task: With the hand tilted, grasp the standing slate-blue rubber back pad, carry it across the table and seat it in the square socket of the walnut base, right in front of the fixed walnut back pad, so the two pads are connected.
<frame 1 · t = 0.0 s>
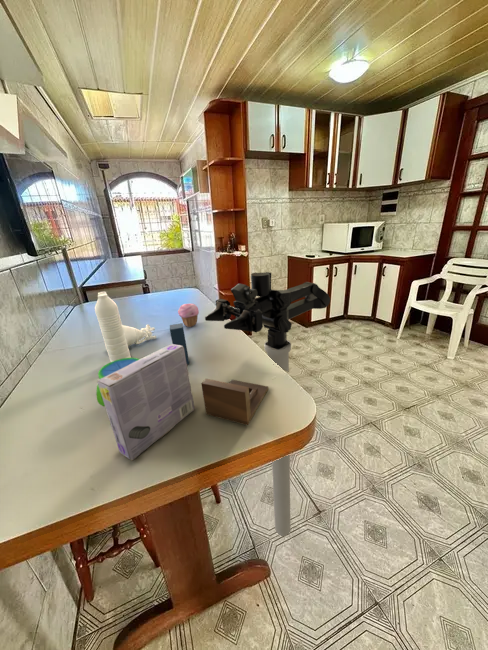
hand: (214, 322, 74), 17 cm above the table, tool horizontal, fingers open, 9 cm apart
cake pan box: (162, 428, 61), on the table
back pad: (182, 362, 89), on the table
rocket engine: (133, 346, 103), on the table
cupcake: (190, 325, 119), on the table
snack cup: (130, 400, 72), on the table
water bottle: (122, 364, 91), on the table
pad seat: (238, 401, 68), on the table
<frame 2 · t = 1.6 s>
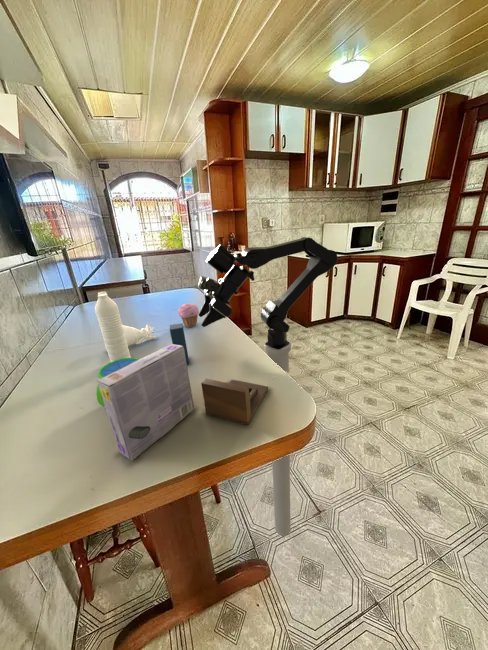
hand: (201, 320, 85), 13 cm above the table, tool tilted 45°, fingers open, 9 cm apart
nothing on the table moved.
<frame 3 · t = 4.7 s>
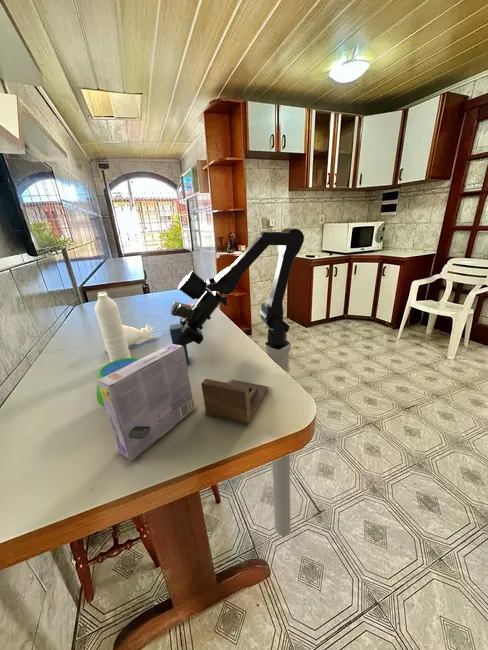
hand: (175, 345, 86), 7 cm above the table, tool tilted 45°, fingers closed on back pad, 4 cm apart
back pad: (182, 362, 89), on the table, touching gripper
everything else where it was.
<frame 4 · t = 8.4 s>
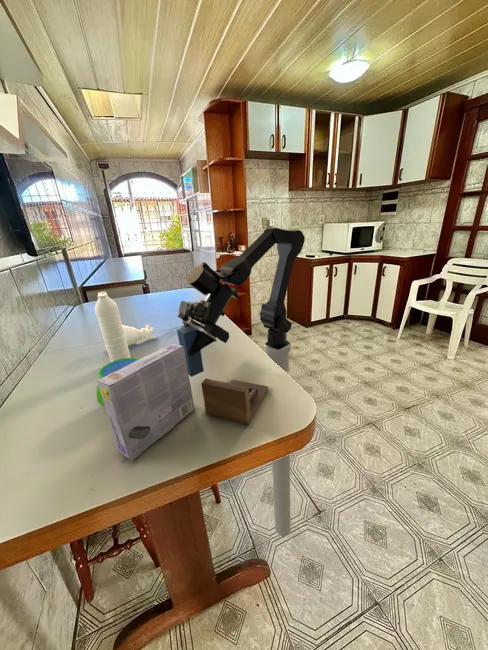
hand: (186, 352, 72), 10 cm above the table, tool tilted 45°, fingers closed on back pad, 4 cm apart
back pad: (194, 371, 75), point 4 cm above the table, touching gripper
everything else where it was.
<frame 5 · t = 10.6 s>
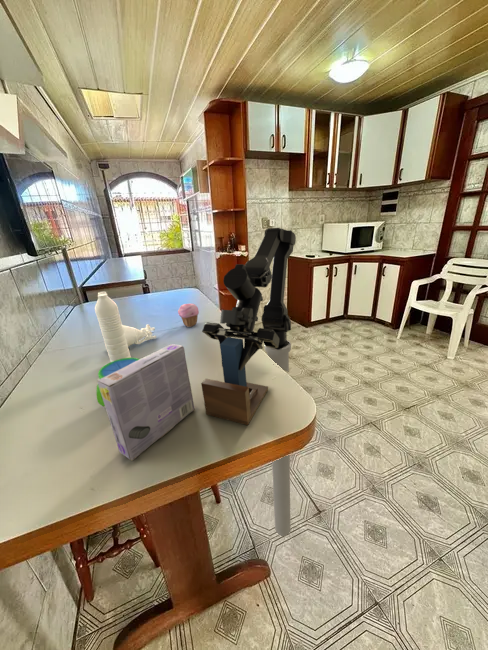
hand: (231, 368, 63), 10 cm above the table, tool tilted 45°, fingers closed on back pad, 4 cm apart
back pad: (236, 388, 66), point 4 cm above the table, touching gripper
everything else where it was.
when the fingers open (8 cm above the table, at t = 12.2 s): back pad stays where it is, resting on pad seat.
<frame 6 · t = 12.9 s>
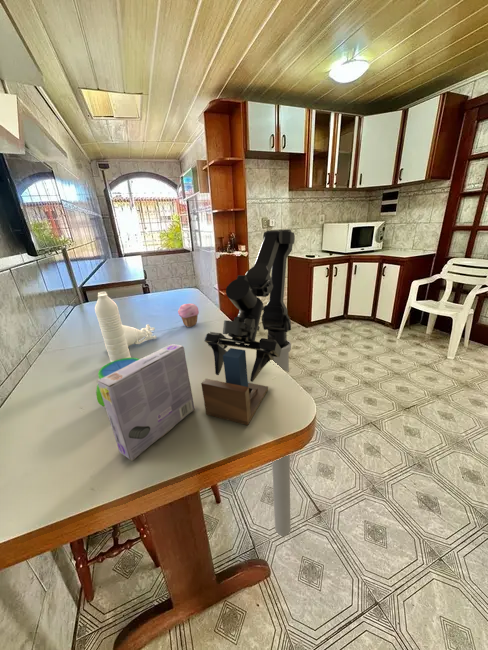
hand: (233, 378, 64), 8 cm above the table, tool tilted 45°, fingers open, 9 cm apart
back pad: (238, 398, 67), point 1 cm above the table, touching pad seat
everything else where it was.
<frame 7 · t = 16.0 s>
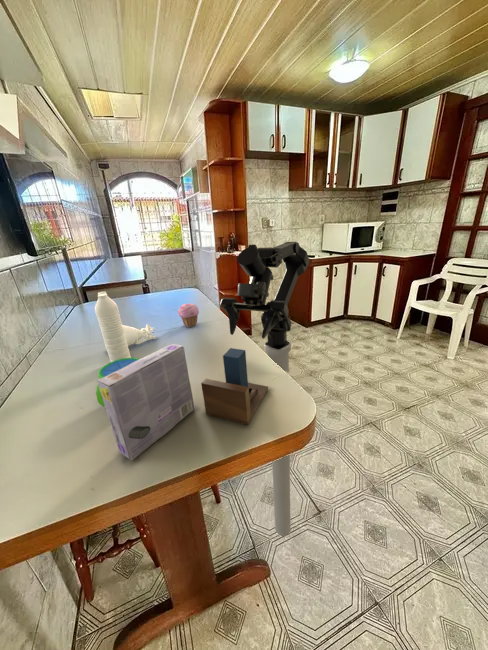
hand: (246, 336, 72), 14 cm above the table, tool tilted 45°, fingers open, 9 cm apart
nothing on the table moved.
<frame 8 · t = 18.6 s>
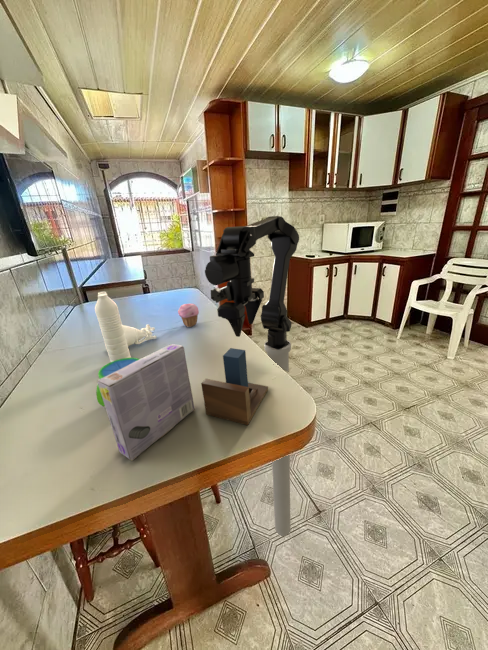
hand: (244, 329, 77), 13 cm above the table, tool pointing down, fingers open, 9 cm apart
nothing on the table moved.
at the end: back pad 0.0 cm off-centre on the pad seat, point 1.0 cm above the pad seat's base; back pad tilted 0°; the gripper is holding nothing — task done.
